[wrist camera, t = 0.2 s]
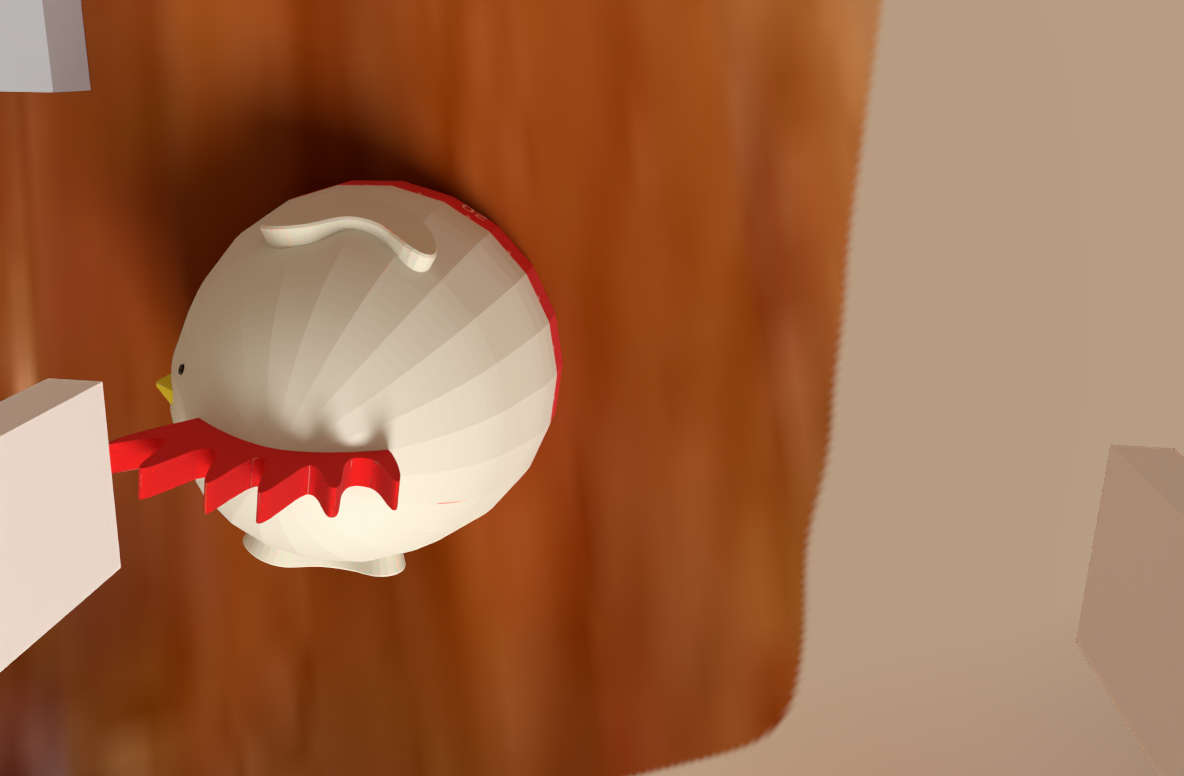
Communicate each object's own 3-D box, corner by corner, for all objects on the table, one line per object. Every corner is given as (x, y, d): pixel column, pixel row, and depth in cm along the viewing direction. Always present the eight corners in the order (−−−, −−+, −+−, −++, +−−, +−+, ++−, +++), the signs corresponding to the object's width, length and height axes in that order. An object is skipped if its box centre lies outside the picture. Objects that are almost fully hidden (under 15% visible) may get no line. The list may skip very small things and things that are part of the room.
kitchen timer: (226, 152, 42) (-23, 202, 28) (584, 209, 41) (516, 291, 27) (211, 489, 46) (-11, 682, 32) (536, 546, 46) (456, 771, 31)
